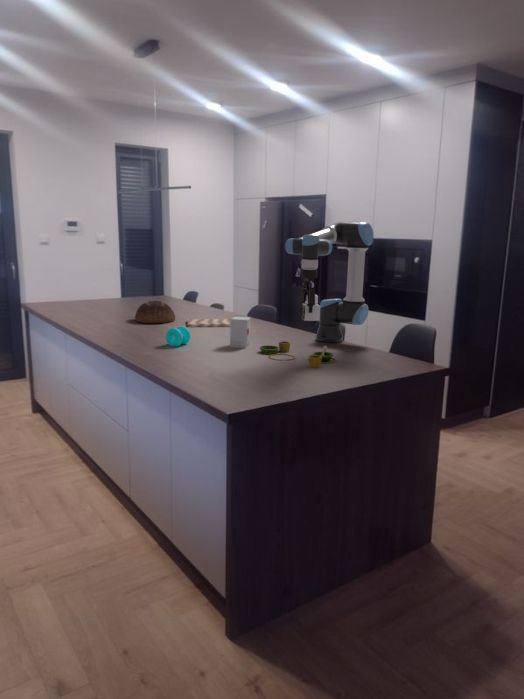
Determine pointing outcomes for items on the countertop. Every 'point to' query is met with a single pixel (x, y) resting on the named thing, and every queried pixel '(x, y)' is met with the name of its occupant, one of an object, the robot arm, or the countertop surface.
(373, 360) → the countertop surface
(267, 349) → the tableware set
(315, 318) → the medicine bottle
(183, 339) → the donuts
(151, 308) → the bread
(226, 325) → the cutting board
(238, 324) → the supplement box
